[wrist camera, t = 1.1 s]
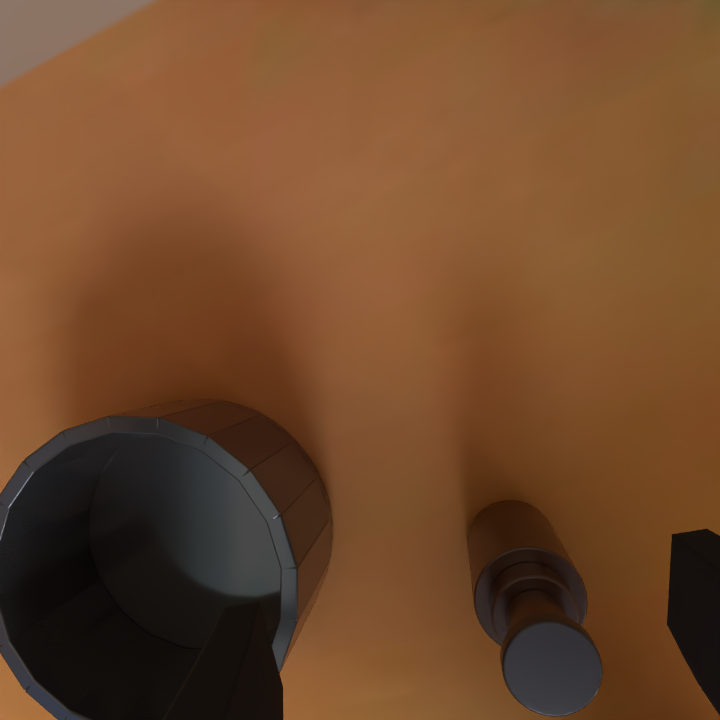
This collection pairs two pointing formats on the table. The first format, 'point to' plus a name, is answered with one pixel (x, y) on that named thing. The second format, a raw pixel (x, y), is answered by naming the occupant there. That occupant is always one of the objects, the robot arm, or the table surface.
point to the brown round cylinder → (153, 552)
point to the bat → (533, 609)
